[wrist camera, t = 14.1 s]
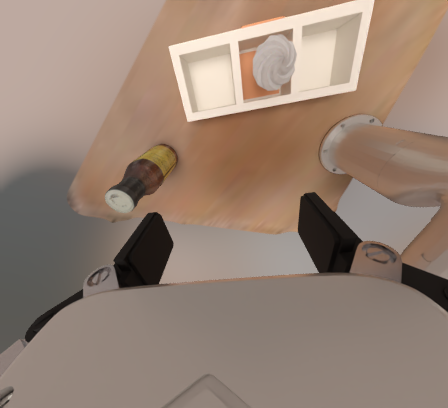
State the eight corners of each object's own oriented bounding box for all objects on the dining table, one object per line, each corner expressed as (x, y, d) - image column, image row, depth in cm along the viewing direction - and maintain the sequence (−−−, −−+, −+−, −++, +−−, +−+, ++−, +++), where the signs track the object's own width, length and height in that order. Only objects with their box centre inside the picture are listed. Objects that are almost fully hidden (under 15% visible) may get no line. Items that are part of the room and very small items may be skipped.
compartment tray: (343, 13, 26) (377, -12, 20) (332, 92, 32) (355, 90, 26) (179, 52, 30) (167, 40, 24) (194, 118, 35) (187, 121, 29)
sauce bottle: (152, 140, 38) (89, 172, 21) (179, 147, 38) (140, 183, 21) (152, 167, 41) (98, 213, 24) (177, 173, 42) (141, 221, 25)
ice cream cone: (258, 46, 28) (283, 0, 15) (283, 69, 29) (324, 46, 17) (239, 80, 30) (246, 66, 18) (262, 100, 32) (284, 100, 19)
